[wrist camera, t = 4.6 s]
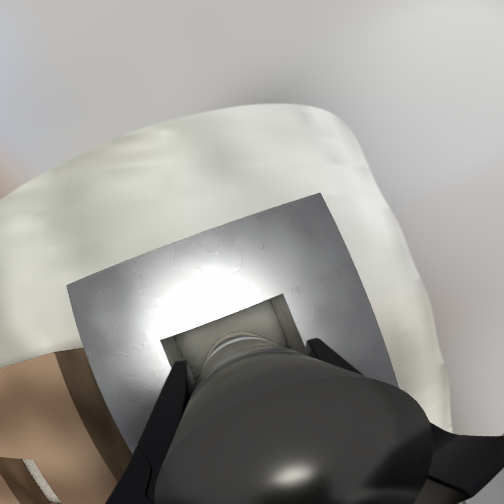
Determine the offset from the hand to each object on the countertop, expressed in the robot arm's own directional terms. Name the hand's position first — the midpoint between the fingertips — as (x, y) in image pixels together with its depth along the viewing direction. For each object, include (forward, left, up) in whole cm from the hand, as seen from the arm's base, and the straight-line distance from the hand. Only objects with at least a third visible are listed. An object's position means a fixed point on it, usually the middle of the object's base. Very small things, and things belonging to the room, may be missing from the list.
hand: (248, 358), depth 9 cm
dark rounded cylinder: (-1, 0, -7) cm, 7 cm away
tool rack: (-6, +18, -7) cm, 20 cm away
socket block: (-1, 0, -7) cm, 7 cm away
